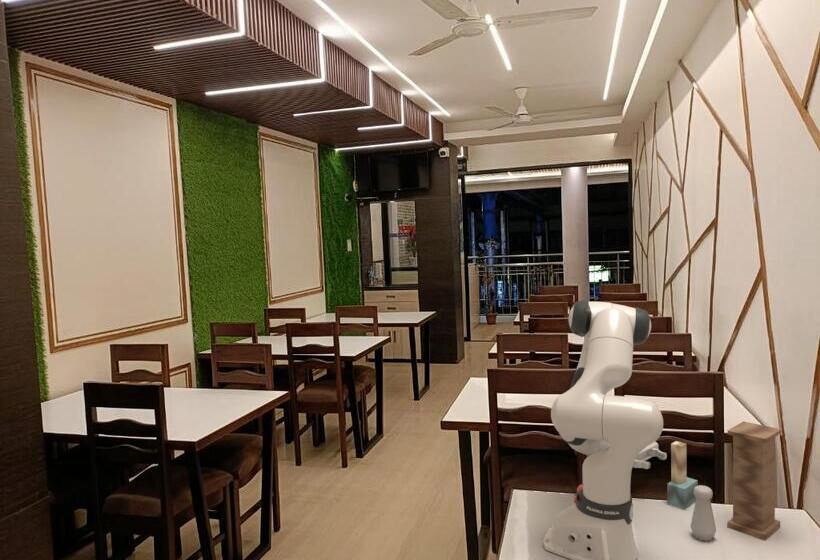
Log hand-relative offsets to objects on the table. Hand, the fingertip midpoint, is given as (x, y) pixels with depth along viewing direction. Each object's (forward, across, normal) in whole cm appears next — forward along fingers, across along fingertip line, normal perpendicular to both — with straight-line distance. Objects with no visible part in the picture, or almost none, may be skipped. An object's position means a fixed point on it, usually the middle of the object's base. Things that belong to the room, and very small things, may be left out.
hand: (657, 461), depth 171 cm
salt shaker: (+20, -14, +10) cm, 26 cm away
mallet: (+5, 0, +2) cm, 5 cm away
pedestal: (+26, 0, +10) cm, 28 cm away
